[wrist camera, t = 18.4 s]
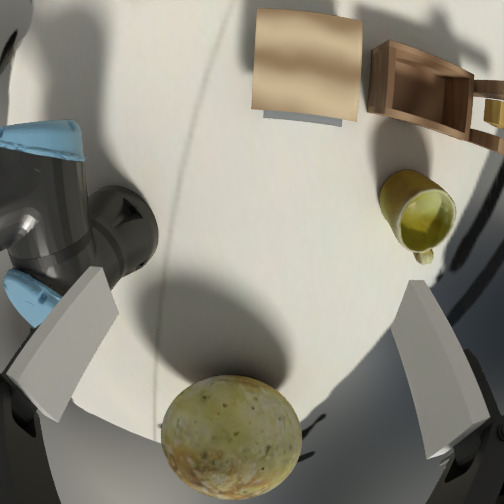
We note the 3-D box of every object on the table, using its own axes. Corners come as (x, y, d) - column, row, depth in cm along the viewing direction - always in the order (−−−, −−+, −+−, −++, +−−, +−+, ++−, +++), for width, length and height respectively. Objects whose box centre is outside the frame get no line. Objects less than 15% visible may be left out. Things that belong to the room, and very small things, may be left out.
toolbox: (366, 112, 30) (400, 116, 20) (371, 50, 25) (404, 31, 15) (459, 139, 28) (507, 157, 19) (464, 84, 24) (514, 87, 14)
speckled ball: (183, 398, 70) (155, 487, 44) (179, 333, 54) (128, 463, 28) (285, 417, 69) (276, 510, 43) (320, 360, 53) (322, 497, 28)
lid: (260, 16, 22) (257, 8, 19) (356, 28, 21) (362, 21, 19) (254, 108, 28) (251, 109, 26) (350, 120, 27) (356, 121, 25)
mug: (366, 164, 32) (417, 202, 24) (421, 156, 32) (470, 188, 25) (361, 239, 39) (397, 284, 32) (410, 224, 40) (448, 261, 32)
